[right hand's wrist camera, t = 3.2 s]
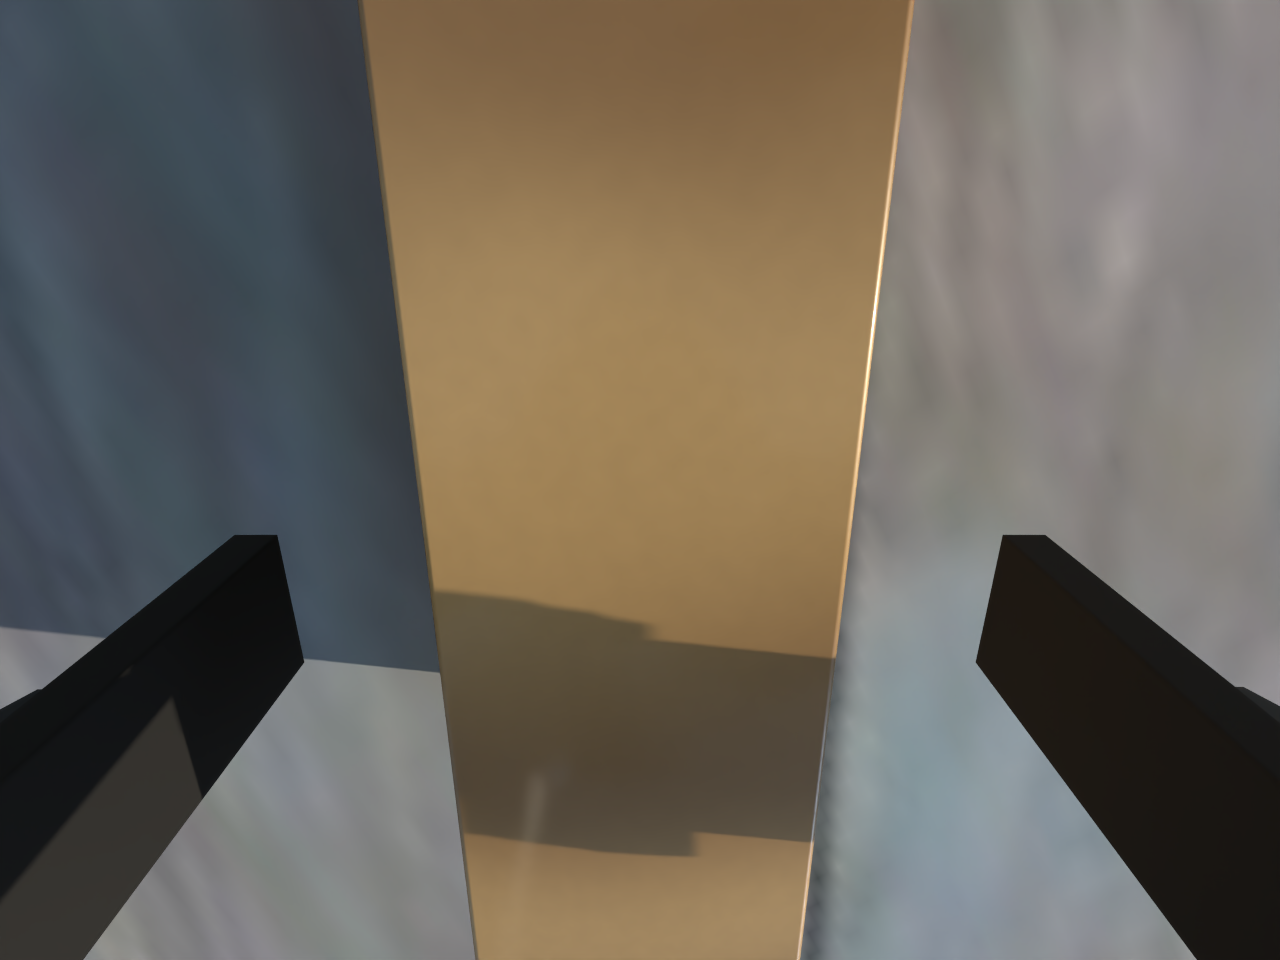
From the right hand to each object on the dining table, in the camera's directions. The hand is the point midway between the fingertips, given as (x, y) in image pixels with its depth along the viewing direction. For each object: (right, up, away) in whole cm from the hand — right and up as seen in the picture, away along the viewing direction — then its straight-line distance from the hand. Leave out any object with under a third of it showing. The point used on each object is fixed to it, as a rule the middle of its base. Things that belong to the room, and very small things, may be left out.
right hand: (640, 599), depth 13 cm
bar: (0, +9, 0) cm, 9 cm away
